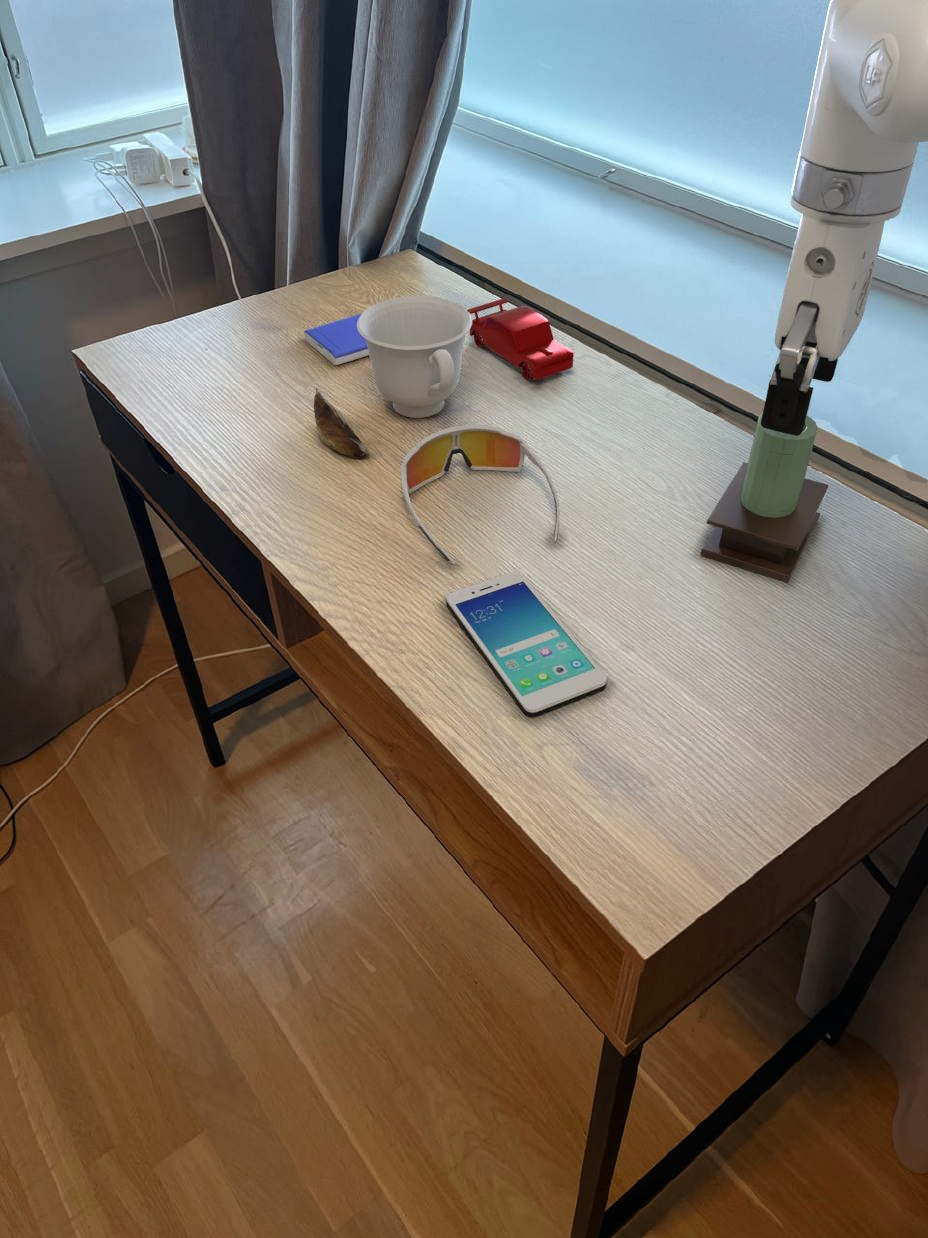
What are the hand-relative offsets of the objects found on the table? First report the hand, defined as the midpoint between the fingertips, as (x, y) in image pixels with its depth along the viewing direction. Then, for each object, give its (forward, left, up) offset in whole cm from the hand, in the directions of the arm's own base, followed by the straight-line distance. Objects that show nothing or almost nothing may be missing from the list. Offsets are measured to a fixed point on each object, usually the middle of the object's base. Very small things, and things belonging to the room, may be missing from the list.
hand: (797, 402), depth 79 cm
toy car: (+36, -21, -15) cm, 44 cm away
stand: (0, 0, -14) cm, 14 cm away
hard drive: (+54, -16, -15) cm, 58 cm away
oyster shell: (+44, +4, -15) cm, 47 cm away
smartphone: (+13, +23, -14) cm, 30 cm away
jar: (0, 0, -10) cm, 10 cm away
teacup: (+39, -5, -15) cm, 42 cm away
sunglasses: (+25, +8, -15) cm, 30 cm away
